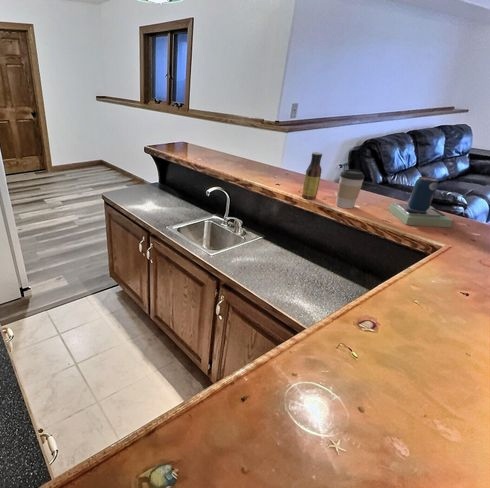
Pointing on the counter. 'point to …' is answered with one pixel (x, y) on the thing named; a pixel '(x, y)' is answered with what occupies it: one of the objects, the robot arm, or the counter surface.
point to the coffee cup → (349, 188)
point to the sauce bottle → (312, 177)
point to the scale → (421, 218)
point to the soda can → (423, 194)
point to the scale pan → (408, 211)
